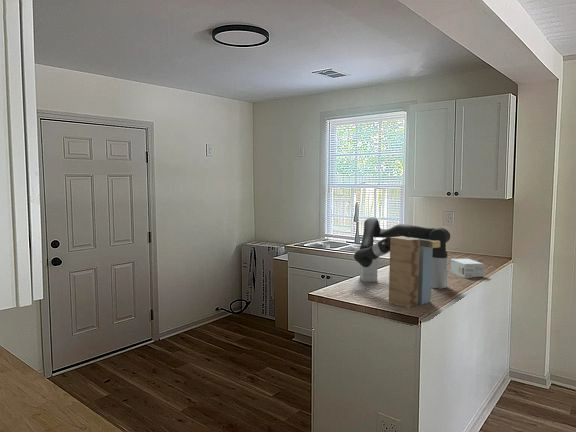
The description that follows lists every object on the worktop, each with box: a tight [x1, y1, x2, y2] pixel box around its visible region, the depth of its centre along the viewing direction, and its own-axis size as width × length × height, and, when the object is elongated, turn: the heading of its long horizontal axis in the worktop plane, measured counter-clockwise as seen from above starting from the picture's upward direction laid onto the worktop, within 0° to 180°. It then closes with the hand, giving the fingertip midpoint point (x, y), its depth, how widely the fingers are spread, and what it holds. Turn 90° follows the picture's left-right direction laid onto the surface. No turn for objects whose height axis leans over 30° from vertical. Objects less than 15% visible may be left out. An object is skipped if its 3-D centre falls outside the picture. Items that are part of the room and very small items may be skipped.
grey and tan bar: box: [401, 236, 440, 248], centre depth 215 cm, size 6×24×3 cm, turn 36°
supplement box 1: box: [359, 257, 379, 283], centre depth 259 cm, size 9×9×15 cm
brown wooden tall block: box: [388, 236, 420, 309], centre depth 209 cm, size 7×12×32 cm, turn 36°
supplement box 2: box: [450, 258, 485, 279], centre depth 277 cm, size 17×13×9 cm
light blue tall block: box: [418, 246, 433, 305], centre depth 215 cm, size 7×12×28 cm, turn 36°
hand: (404, 235), depth 220 cm, fingers open, 8 cm apart
